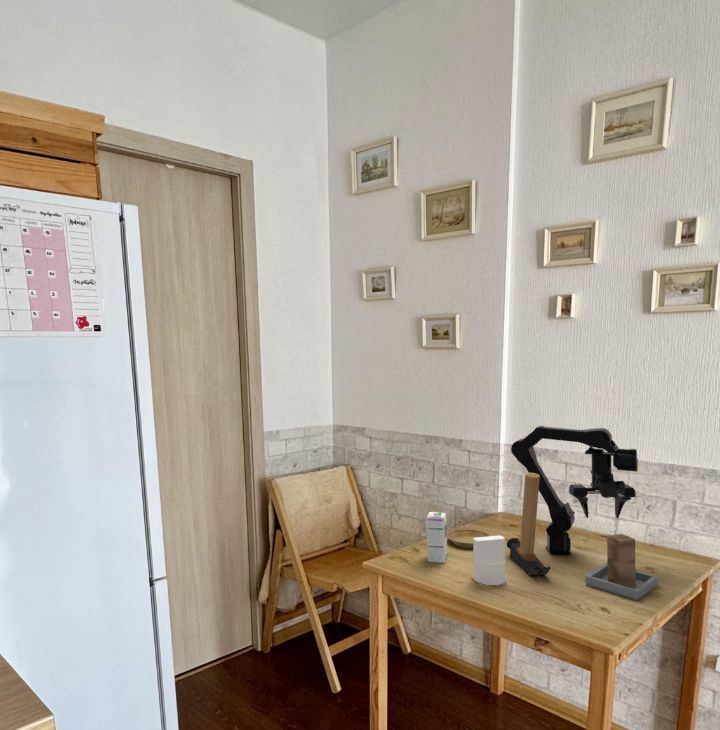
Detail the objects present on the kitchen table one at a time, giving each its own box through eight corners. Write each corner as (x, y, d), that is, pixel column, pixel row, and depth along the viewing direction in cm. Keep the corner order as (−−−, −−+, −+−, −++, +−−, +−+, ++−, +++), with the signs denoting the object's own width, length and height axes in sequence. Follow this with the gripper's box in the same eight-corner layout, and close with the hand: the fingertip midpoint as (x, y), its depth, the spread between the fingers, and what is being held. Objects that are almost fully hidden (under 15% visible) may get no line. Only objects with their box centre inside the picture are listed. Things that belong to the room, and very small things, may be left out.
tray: (637, 601, 142) (637, 591, 142) (585, 585, 153) (585, 576, 153) (657, 585, 152) (657, 576, 151) (607, 571, 162) (607, 562, 162)
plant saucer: (451, 551, 181) (450, 543, 181) (444, 536, 196) (444, 529, 196) (495, 550, 181) (495, 542, 181) (485, 536, 196) (485, 528, 196)
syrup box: (445, 563, 170) (444, 517, 170) (426, 561, 172) (426, 516, 171) (447, 556, 176) (446, 512, 175) (429, 555, 177) (428, 511, 177)
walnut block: (607, 581, 154) (607, 535, 154) (622, 578, 155) (621, 533, 155) (620, 588, 149) (620, 541, 149) (635, 585, 150) (635, 539, 150)
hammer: (549, 585, 158) (557, 489, 152) (532, 586, 157) (540, 490, 151) (520, 549, 177) (526, 462, 171) (505, 550, 177) (511, 463, 171)
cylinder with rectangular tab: (481, 587, 152) (480, 544, 152) (468, 574, 161) (468, 534, 161) (511, 584, 154) (510, 542, 154) (497, 571, 163) (496, 532, 163)
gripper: (579, 474, 164) (580, 525, 164) (643, 474, 163) (643, 526, 163) (568, 466, 175) (568, 514, 175) (627, 466, 174) (628, 515, 174)
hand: (601, 517), depth 172 cm, fingers open, 9 cm apart
